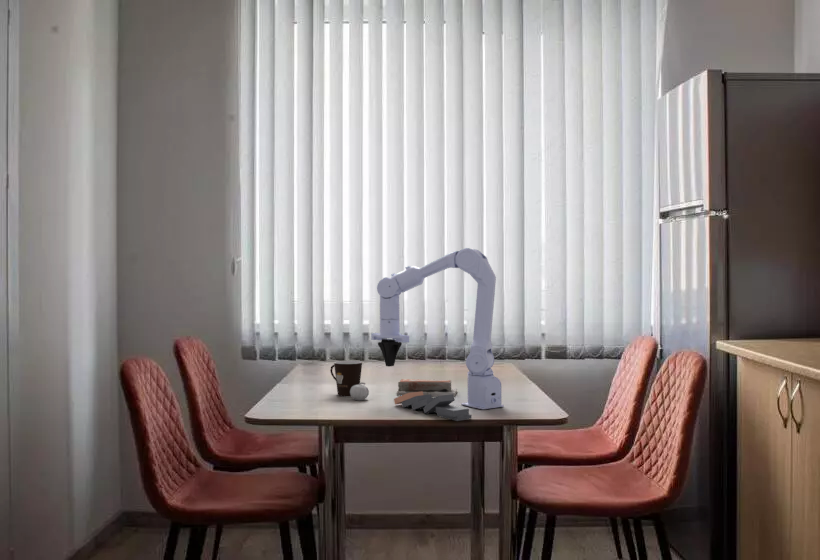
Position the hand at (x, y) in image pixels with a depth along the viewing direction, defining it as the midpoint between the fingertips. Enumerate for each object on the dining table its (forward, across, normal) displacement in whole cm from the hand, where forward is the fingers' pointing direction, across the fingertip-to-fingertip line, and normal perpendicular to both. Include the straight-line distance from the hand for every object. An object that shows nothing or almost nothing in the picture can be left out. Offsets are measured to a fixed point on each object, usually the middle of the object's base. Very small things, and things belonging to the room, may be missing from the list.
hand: (389, 366), depth 213 cm
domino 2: (+10, -10, +2) cm, 14 cm away
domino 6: (+10, -26, +4) cm, 28 cm away
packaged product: (+11, +3, -18) cm, 21 cm away
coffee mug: (+10, +19, +1) cm, 22 cm away
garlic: (+10, +9, +4) cm, 14 cm away
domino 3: (+10, -15, +2) cm, 18 cm away
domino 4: (+10, -21, +4) cm, 23 cm away
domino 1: (+9, -6, +1) cm, 11 cm away
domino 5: (+9, -26, +4) cm, 27 cm away
